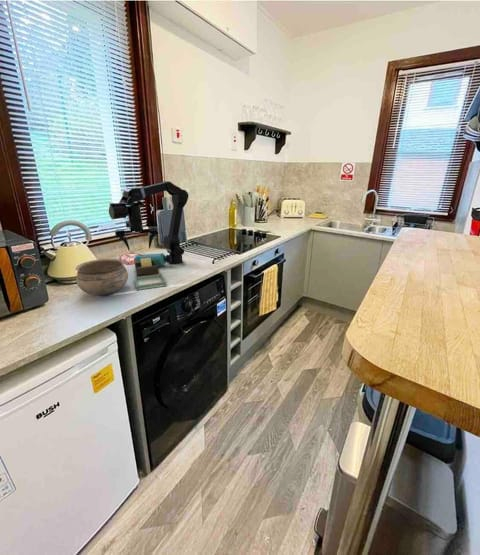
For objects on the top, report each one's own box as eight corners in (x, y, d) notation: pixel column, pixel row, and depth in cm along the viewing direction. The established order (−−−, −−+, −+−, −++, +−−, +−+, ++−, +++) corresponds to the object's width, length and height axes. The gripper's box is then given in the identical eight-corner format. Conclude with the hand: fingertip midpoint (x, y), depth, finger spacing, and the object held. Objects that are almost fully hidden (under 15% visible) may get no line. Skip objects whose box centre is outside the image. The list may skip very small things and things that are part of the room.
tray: (162, 277, 130) (161, 273, 129) (166, 286, 120) (165, 282, 119) (135, 281, 125) (134, 277, 124) (136, 290, 116) (136, 286, 115)
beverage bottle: (133, 269, 141) (170, 267, 138) (130, 257, 138) (167, 255, 135) (139, 264, 146) (174, 262, 144) (135, 253, 143) (171, 250, 141)
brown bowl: (66, 294, 112) (59, 266, 108) (108, 279, 127) (103, 254, 123) (103, 309, 100) (97, 278, 96) (144, 291, 115) (141, 264, 111)
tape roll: (141, 269, 136) (139, 256, 133) (151, 268, 138) (149, 255, 135) (142, 275, 131) (141, 261, 128) (152, 274, 132) (151, 260, 129)
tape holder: (135, 270, 139) (134, 261, 137) (156, 268, 142) (155, 258, 141) (137, 280, 127) (136, 270, 125) (159, 277, 130) (158, 267, 129)
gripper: (153, 213, 135) (157, 243, 141) (112, 215, 129) (118, 247, 134) (156, 216, 126) (160, 249, 132) (112, 219, 119) (118, 253, 125)
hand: (139, 249), depth 131 cm, fingers open, 9 cm apart
